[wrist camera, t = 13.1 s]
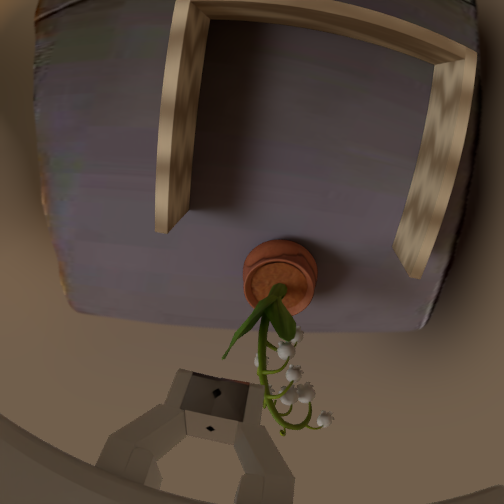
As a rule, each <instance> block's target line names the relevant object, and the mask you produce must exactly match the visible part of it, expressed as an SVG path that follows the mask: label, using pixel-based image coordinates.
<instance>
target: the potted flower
mask: <svg viewBox="0 0 504 504" xmlns="http://www.w3.org/2000/svg"><path fill="white" fill-rule="evenodd" d="M317 273H318V270H317V265H316V262H315V260H314V258H313V256H312V255H311V254H310V252H309V251H308V250H307V249H305V248H304V247H303V246H301V245H300V244H297V243H295V242H292V241H288V240H271V241H267V242H264V243H262V244H260V245H258V246H257V247H255V248H254V249H253V250H252V251H251V252H250V253H249V255H248V256H247V258H246V260H245V262H244V267H243V281H244V287H243V288H244V294H245V297H246V299H247V301H248V302H249V304H250V305H251V306H252V307H253V308H254V311H253V312H252V314H251V315H250V316H249V317H248V318H247V320H246V321H245V322H244V323H243V324H242V325H241V327H240V328H239V329H238V330H237V331H236V332H235V334H234V336H233V339H232V341H231V343H230V346H229V348H228V350H227V351H226V352H225V354H224V355H223V357H222V360H223V359H225V358H226V356H227V354H228V352H229V350H230V349H231V347H232V346H233V345H234V343H235V342H236V340H237V339H238V338H240V337H241V336H243V335H244V334H246V333H247V332H248V331H250V330H251V329H252V328H253V326H254V325H255V324H256V322H257V321H258V320H259V319H260V317H261V316H262V318H261V324H260V329H259V338H258V353H257V354H256V358H255V362H254V363H255V365H256V367H258V370H257V375H258V376H259V379H260V384H261V385H265V392H264V399H263V408H264V409H265V408H266V406H267V407H268V409H269V411H270V413H271V414H272V416H273V418H274V419H275V420H276V422H277V423H278V424H279V425H281V426H283V427H284V431H283V430H280V434H281V435H282V436H285V435H286V430H285V428H287V429H292V430H300V429H302V428H304V427H307V428H309V429H314V430H315V429H320V428H322V427H328V426H330V425H331V423H332V420H334V417H331V415H332V412H328V413H327V414H326V412H325V411H321V412H322V413H321V415H319V417H318V419H317V423H318V425H319V426H321V427H318V428H312V427H310V426H308V425H307V424H308V423H309V421H310V419H311V414H312V406H311V401H312V400H313V399H314V398H315V394H316V393H315V390H314V389H313V388H312V387H313V385H310V382H306V383H305V385H304V386H303V385H302V384H299V385H297V388H298V389H297V388H294V385H292V384H293V383H294V382H298V381H299V380H300V379H301V377H302V375H301V374H303V371H302V370H300V368H301V366H300V365H297V366H296V367H294V366H293V365H289V369H288V370H287V373H286V378H287V380H288V381H290V384H289V385H288V386H287V387H286V386H283V387H281V389H282V391H279V394H278V395H272V392H274V390H273V389H271V387H272V385H270V384H268V380H267V374H274V373H277V372H280V371H282V370H283V369H284V368H285V367H286V365H287V363H288V361H289V360H290V359H292V358H293V357H294V355H295V346H296V344H297V343H299V342H301V341H302V339H303V333H304V332H303V331H300V328H301V327H300V326H297V327H296V323H295V321H294V319H293V317H292V316H293V315H296V314H298V313H300V312H301V311H303V310H304V309H305V308H306V307H307V306H308V305H309V304H310V302H311V300H312V298H313V295H314V288H315V286H316V282H317ZM269 321H270V322H271V323H272V325H273V327H274V329H275V330H276V332H277V334H278V335H279V337H280V338H282V339H283V340H285V341H286V343H284V342H282V341H280V342H278V343H279V346H280V347H279V348H276V347H275V346H273V345H272V344H271V343H269V342H268V341H267V332H268V327H269ZM291 342H292V343H294V344H295V345H294V346H292V344H291ZM266 346H267V347H269V348H271V349H273V350H274V351H276V352H278V355H279V357H280V358H281V359H284V360H286V362H285V364H284V365H283V366H282V367H281V368H280V369H278V370H273V371H271V370H270V371H269V370H266V366H267V365H268V360H267V359H269V357H266ZM277 398H280V399H281V401H282V403H283V404H285V405H291V406H290V409H289V411H288V412H287V413H284V414H281V413H278V411H277V410H276V408H275V405H276V401H277V400H275V401H274V403H273V400H272V399H277ZM298 400H299V401H300V402H302V403H309V412H308V415H307V417H306V419H305V420H304V421H303V422H302V423H300V424H296V425H293V424H290V423H287V422H286V421H284V420H283V419H282V418H281V416H287V415H288V414H290V412H291V410H292V405H293V404H295V403H296V402H297V401H298Z"/></svg>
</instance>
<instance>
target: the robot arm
mask: <svg viewBox="0 0 504 504" xmlns="http://www.w3.org/2000/svg"><path fill="white" fill-rule="evenodd" d="M249 384H250V385H249ZM264 392H265V385H259V384H252V383H249V382H243V381H237V380H230V379H225V378H218V377H213V376H209V375H204V374H200V373H196V372H193V371H188V370H184V369H179V370H178V371H177V372H176V375H175V377H174V380H173V382H172V385H171V388H170V390H169V393H168V395H167V398H166V400H165V403H164V405H162V404H159V405H157V406H156V407H154V408H152V409H151V410H149V411H148V412H146V413H145V414H143V415H142V416H140V417H138V418H137V419H136V420H134V421H132V422H130V423H129V424H127V425H126V426H124V427H122V428H121V429H119V430H118V431H116V432H114V433H113V434H111V435H109V437H108V439H107V442H106V443H105V446H104V448H103V450H102V452H101V454H100V457H99V459H98V461H97V463H96V465H95V466H93V465H91V464H89V463H86V462H84V461H82V460H80V459H78V458H76V457H73V456H72V455H70V454H68V453H66V452H63V451H62V450H60V449H58V448H56V447H54V446H52V445H50V444H49V443H47V442H45V441H43V440H42V439H40V438H38V437H36V436H35V435H33V434H31V433H29V432H28V431H26V430H25V429H23V428H21V427H20V426H18V425H17V424H15V423H14V422H12V421H11V420H9V419H8V418H6V417H5V416H3V415H2V414H0V504H214V503H210V502H205V501H200V500H196V499H192V498H187V497H183V496H179V495H175V494H172V493H169V492H165V491H162V490H159V489H160V485H161V482H162V476H161V474H160V471H159V469H158V466H157V463H156V461H158V460H159V459H160V458H161V457H163V456H164V455H165V454H166V453H167V452H169V451H170V450H171V449H172V448H173V447H175V445H177V444H178V443H179V442H181V440H183V439H184V438H185V437H186V435H189V436H193V437H198V438H203V439H208V440H212V441H217V442H221V443H226V444H231V445H234V448H235V451H236V453H237V455H238V458H239V460H240V462H241V465H242V467H243V469H244V471H245V473H246V474H244V475H243V476H242V477H241V480H240V483H239V486H238V489H237V492H236V495H235V499H234V504H293V495H294V483H295V477H294V476H293V475H292V472H291V471H290V469H289V468H288V466H287V464H286V462H285V461H284V459H283V457H282V456H281V454H280V452H279V451H278V449H277V447H276V446H275V444H274V442H273V441H272V439H271V437H270V435H269V434H268V432H267V430H266V428H265V426H262V425H260V420H261V414H262V407H263V399H264ZM429 504H504V486H503V485H495V486H492V487H489V488H486V489H483V490H479V491H476V492H473V493H470V494H466V495H463V496H459V497H455V498H452V499H447V500H443V501H438V502H434V503H429Z"/></svg>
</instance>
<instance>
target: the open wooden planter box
mask: <svg viewBox="0 0 504 504" xmlns="http://www.w3.org/2000/svg"><path fill="white" fill-rule="evenodd" d="M210 19H216V20H239V21H253V22H264V23H273V24H281V25H288V26H295V27H302V28H307V29H313V30H318V31H324V32H328V33H333V34H338V35H342V36H346V37H350V38H354V39H358V40H362V41H366V42H369V43H373V44H376V45H380V46H383V47H386V48H389V49H392V50H395V51H398V52H401V53H404V54H407V55H410V56H413V57H415V58H418V59H421V60H423V61H426V62H428V63H431V64H433V65H435V66H434V74H433V81H432V88H431V95H430V101H429V106H428V112H427V117H426V123H425V128H424V133H423V137H422V142H421V146H420V151H419V155H418V159H417V163H416V168H415V171H414V175H413V179H412V183H411V187H410V190H409V194H408V198H407V201H406V204H405V208H404V211H403V215H402V218H401V221H400V224H399V227H398V231H397V234H396V237H395V240H394V243H393V246H392V248H393V249H394V251H395V253H396V254H397V256H398V258H399V259H400V261H401V263H402V265H403V266H404V268H405V270H406V272H407V273H408V275H409V277H411V278H417V279H420V278H421V276H422V274H423V271H424V269H425V266H426V264H427V261H428V259H429V256H430V254H431V251H432V248H433V246H434V243H435V240H436V237H437V235H438V232H439V229H440V226H441V223H442V220H443V217H444V214H445V211H446V208H447V205H448V201H449V198H450V195H451V191H452V188H453V184H454V181H455V177H456V173H457V170H458V166H459V162H460V158H461V153H462V149H463V145H464V140H465V135H466V130H467V125H468V120H469V114H470V108H471V102H472V96H473V88H474V80H475V72H476V61H477V52H475V51H473V50H471V49H469V48H467V47H465V46H463V45H461V44H459V43H457V42H455V41H453V40H451V39H448V38H446V37H444V36H442V35H439V34H437V33H435V32H432V31H430V30H428V29H425V28H423V27H420V26H418V25H415V24H412V23H410V22H407V21H404V20H401V19H398V18H395V17H392V16H389V15H386V14H383V13H380V12H376V11H373V10H370V9H366V8H362V7H359V6H355V5H351V4H346V3H342V2H338V1H333V0H176V3H175V8H174V14H173V19H172V25H171V31H170V37H169V44H168V51H167V58H166V65H165V73H164V81H163V90H162V100H161V110H160V121H159V134H158V149H157V168H156V197H155V232H160V233H165V234H168V232H169V231H170V230H171V229H172V228H173V227H174V226H175V225H176V224H177V222H178V221H179V220H180V219H181V218H182V217H183V216H184V215H185V214H186V213H187V212H188V210H189V201H190V187H191V173H192V161H193V150H194V139H195V129H196V119H197V110H198V102H199V93H200V85H201V77H202V70H203V63H204V56H205V49H206V42H207V36H208V30H209V24H210Z"/></svg>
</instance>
